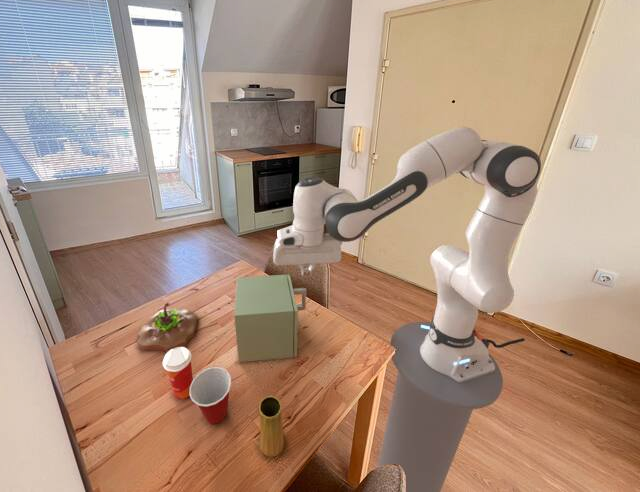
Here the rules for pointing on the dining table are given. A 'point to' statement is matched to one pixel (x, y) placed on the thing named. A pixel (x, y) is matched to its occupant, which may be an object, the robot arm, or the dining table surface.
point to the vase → (271, 426)
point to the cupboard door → (296, 309)
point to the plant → (167, 329)
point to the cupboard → (264, 318)
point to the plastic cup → (211, 393)
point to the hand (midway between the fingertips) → (306, 274)
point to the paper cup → (179, 371)
